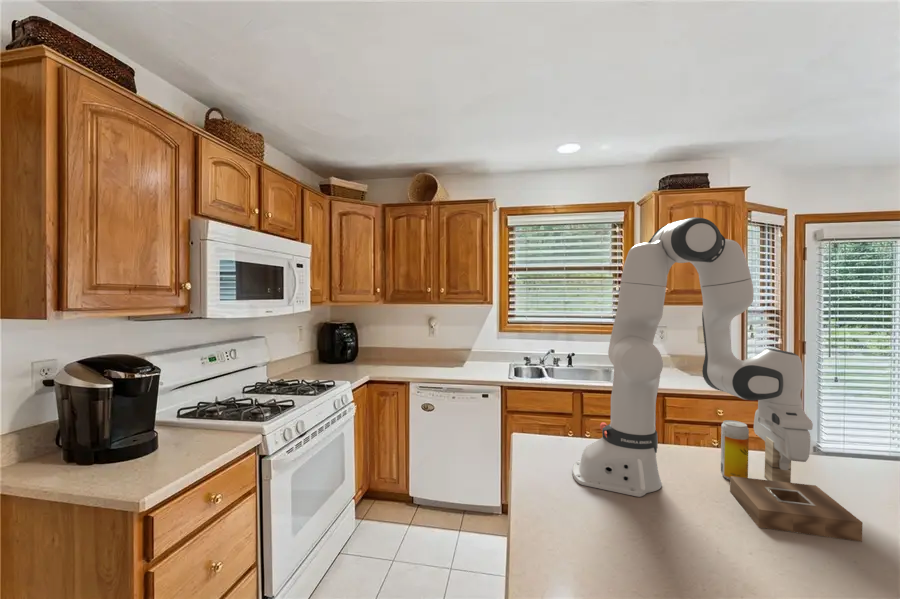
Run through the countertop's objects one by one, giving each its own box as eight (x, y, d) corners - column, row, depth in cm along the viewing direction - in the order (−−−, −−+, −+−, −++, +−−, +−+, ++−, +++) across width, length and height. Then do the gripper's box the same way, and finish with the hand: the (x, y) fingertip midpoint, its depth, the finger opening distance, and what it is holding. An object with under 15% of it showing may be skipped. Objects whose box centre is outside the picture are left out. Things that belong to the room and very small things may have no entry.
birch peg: (771, 484, 104) (773, 442, 103) (764, 477, 107) (765, 436, 107) (790, 486, 102) (792, 443, 102) (782, 479, 106) (783, 438, 106)
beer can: (752, 484, 107) (753, 427, 106) (726, 481, 108) (727, 426, 107) (740, 473, 113) (741, 420, 112) (716, 471, 114) (717, 419, 113)
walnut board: (758, 527, 87) (759, 508, 87) (729, 491, 103) (730, 475, 103) (862, 541, 82) (862, 521, 82) (815, 501, 98) (815, 484, 98)
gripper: (747, 399, 115) (746, 447, 116) (785, 422, 96) (783, 480, 96) (773, 401, 114) (772, 450, 114) (817, 425, 94) (815, 484, 94)
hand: (777, 464), depth 105 cm, fingers closed on birch peg, 4 cm apart
